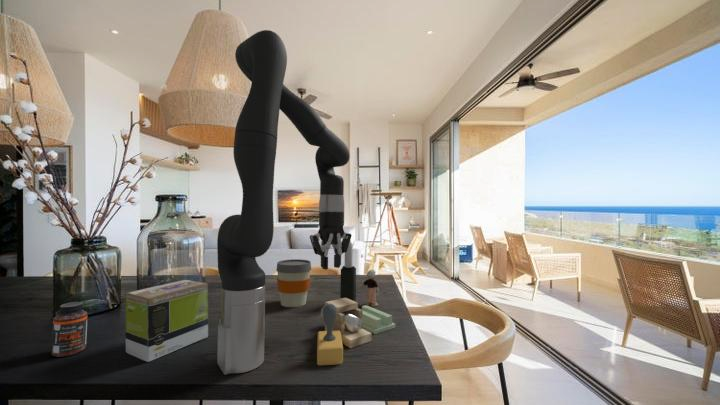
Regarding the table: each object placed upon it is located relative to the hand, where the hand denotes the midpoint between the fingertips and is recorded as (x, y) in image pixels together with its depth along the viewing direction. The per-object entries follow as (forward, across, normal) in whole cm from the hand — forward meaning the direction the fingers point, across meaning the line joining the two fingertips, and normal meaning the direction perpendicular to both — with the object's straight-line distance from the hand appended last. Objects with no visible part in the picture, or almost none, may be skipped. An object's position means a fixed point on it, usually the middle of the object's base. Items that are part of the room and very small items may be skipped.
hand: (330, 268), depth 89 cm
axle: (+13, 0, +5) cm, 14 cm away
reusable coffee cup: (+17, -1, -26) cm, 31 cm away
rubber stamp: (+17, +9, +14) cm, 24 cm away
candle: (+17, -17, -14) cm, 28 cm away
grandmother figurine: (+17, -23, -8) cm, 30 cm away
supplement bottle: (+17, +58, -24) cm, 65 cm away
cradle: (+17, -11, +6) cm, 21 cm away
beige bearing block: (+17, 0, +9) cm, 19 cm away
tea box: (+17, +39, -14) cm, 45 cm away
